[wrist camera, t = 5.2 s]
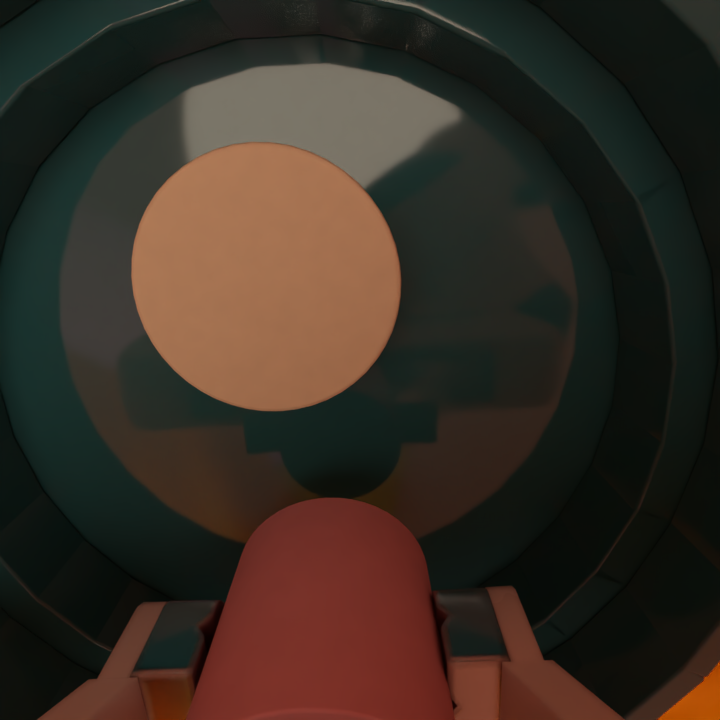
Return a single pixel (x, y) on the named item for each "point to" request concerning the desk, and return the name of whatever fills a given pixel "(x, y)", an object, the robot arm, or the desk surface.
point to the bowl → (411, 330)
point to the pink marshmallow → (327, 623)
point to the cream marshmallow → (266, 276)
